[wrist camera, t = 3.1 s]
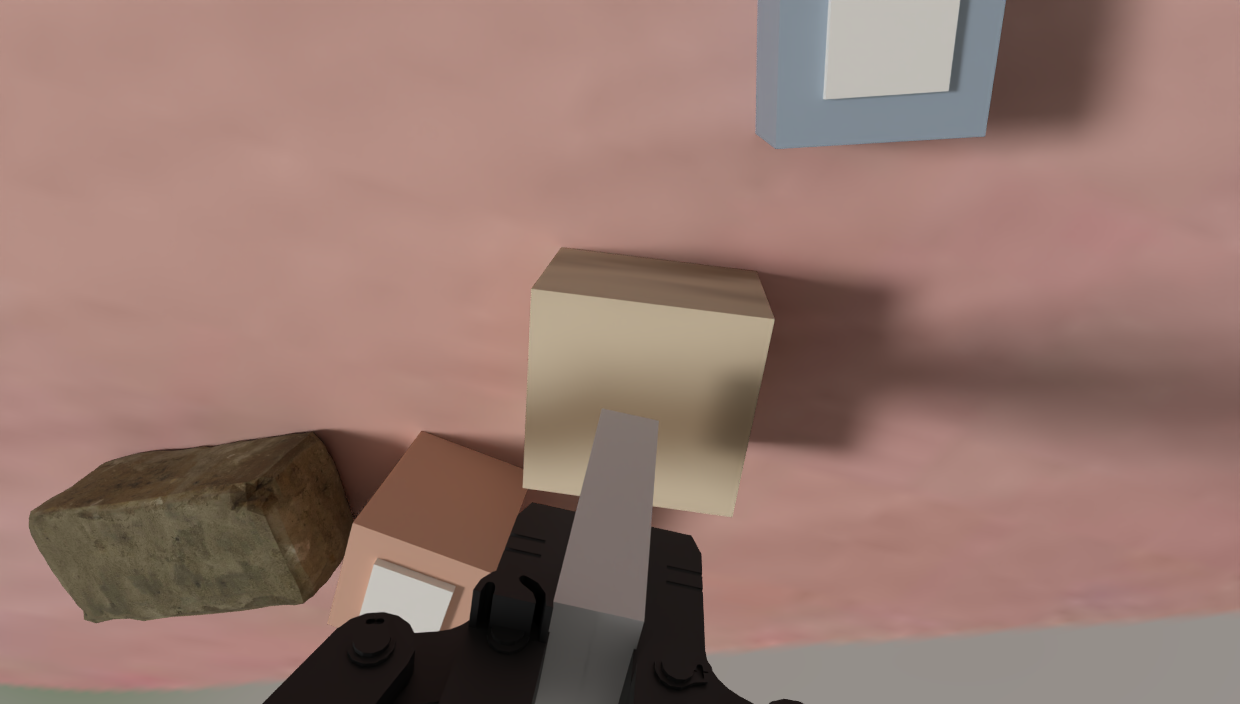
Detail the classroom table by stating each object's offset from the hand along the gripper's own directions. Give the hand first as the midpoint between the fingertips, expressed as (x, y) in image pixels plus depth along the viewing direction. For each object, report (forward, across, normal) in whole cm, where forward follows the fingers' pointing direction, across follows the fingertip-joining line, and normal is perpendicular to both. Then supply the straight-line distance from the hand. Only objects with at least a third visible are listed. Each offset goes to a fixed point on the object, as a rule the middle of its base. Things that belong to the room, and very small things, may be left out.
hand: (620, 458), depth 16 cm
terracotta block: (+8, -6, -9) cm, 13 cm away
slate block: (+8, +4, +11) cm, 14 cm away
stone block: (+8, -16, -11) cm, 22 cm away
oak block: (+8, 0, 0) cm, 8 cm away
